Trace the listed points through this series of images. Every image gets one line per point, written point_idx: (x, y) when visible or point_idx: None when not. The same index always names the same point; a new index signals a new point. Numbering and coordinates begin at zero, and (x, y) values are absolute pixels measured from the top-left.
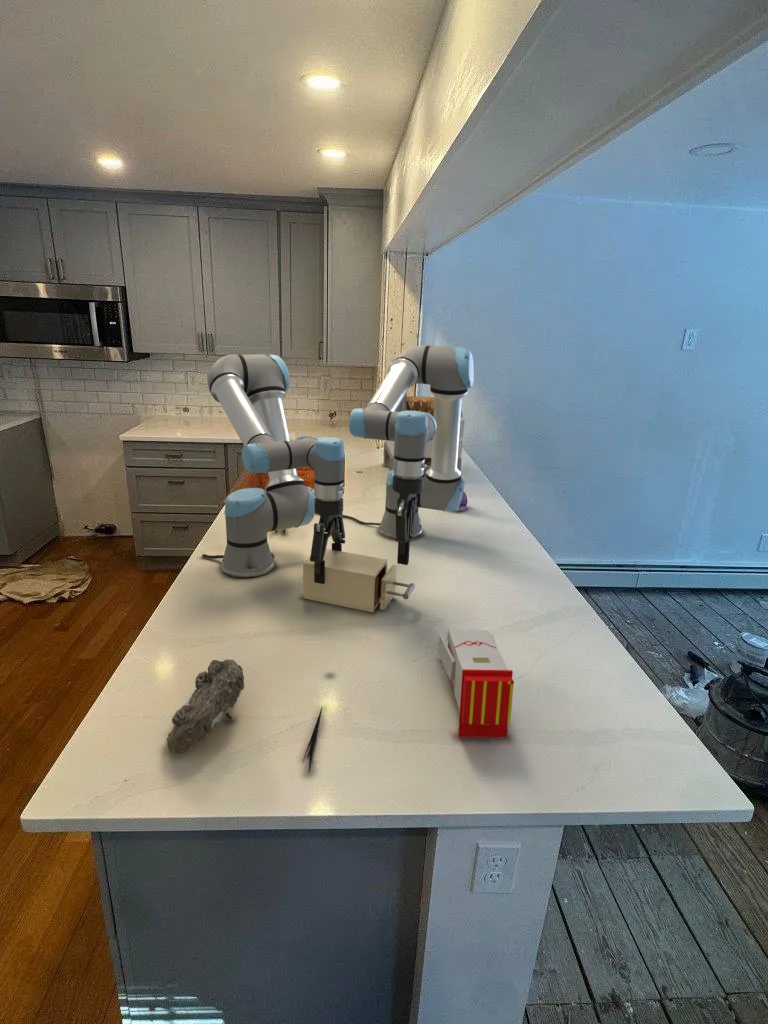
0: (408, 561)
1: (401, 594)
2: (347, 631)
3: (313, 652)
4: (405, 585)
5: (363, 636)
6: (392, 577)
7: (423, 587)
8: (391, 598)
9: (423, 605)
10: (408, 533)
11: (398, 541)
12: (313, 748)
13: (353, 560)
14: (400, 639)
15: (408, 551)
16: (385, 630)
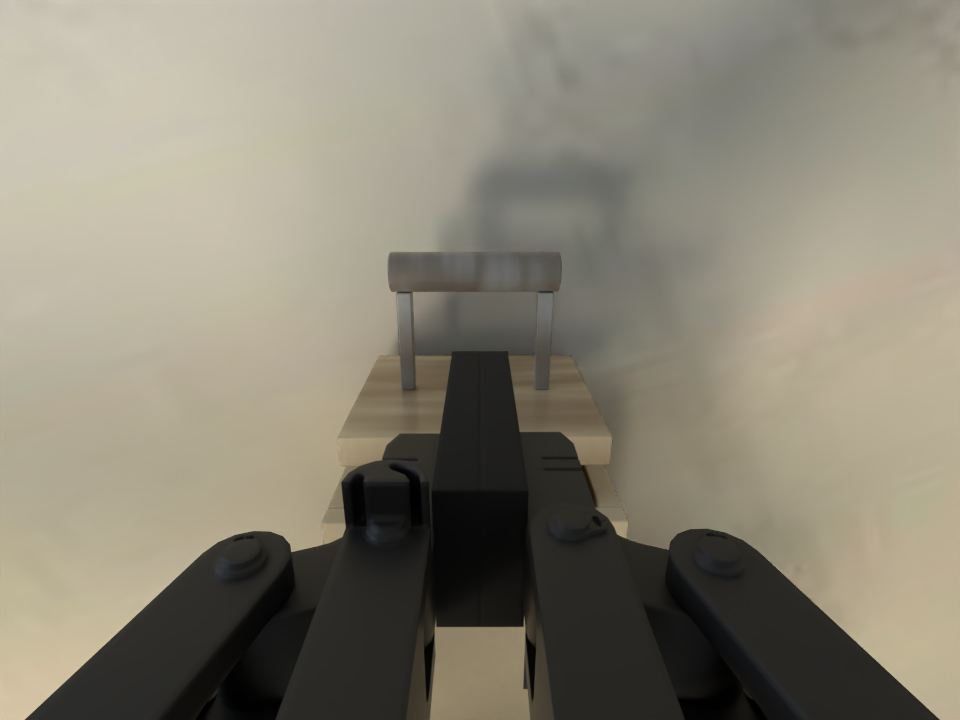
0: (466, 358)
1: (551, 302)
2: (768, 444)
3: (945, 503)
4: (411, 313)
5: (795, 371)
6: None
7: (197, 233)
8: (449, 357)
9: (406, 177)
10: (558, 620)
11: (522, 610)
12: None
13: (447, 691)
14: (790, 201)
15: (494, 411)
16: (722, 296)
